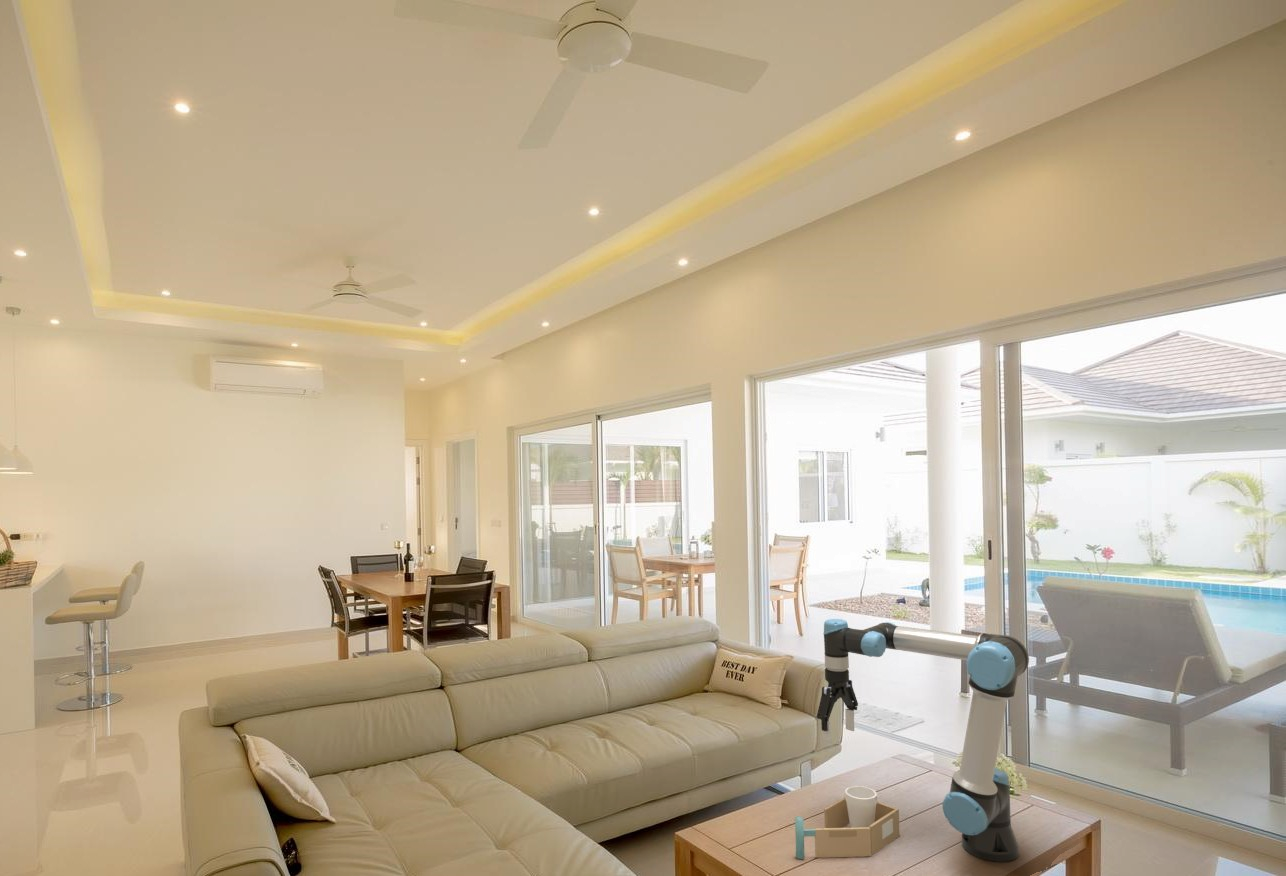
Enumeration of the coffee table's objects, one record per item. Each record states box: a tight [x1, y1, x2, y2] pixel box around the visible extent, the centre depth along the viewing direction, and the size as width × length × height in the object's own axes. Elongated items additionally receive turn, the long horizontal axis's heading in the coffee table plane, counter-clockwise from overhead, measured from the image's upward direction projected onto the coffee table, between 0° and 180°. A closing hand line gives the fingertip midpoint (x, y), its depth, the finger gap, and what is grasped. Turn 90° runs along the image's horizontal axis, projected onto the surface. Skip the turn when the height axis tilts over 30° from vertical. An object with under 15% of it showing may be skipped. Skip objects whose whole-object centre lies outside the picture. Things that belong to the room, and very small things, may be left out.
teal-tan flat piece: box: [794, 816, 872, 860], centre depth 211 cm, size 22×2×11 cm, turn 91°
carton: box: [823, 797, 901, 856], centre depth 223 cm, size 16×16×8 cm
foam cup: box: [844, 785, 878, 828], centre depth 223 cm, size 10×9×13 cm
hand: (838, 735), depth 234 cm, fingers open, 13 cm apart
